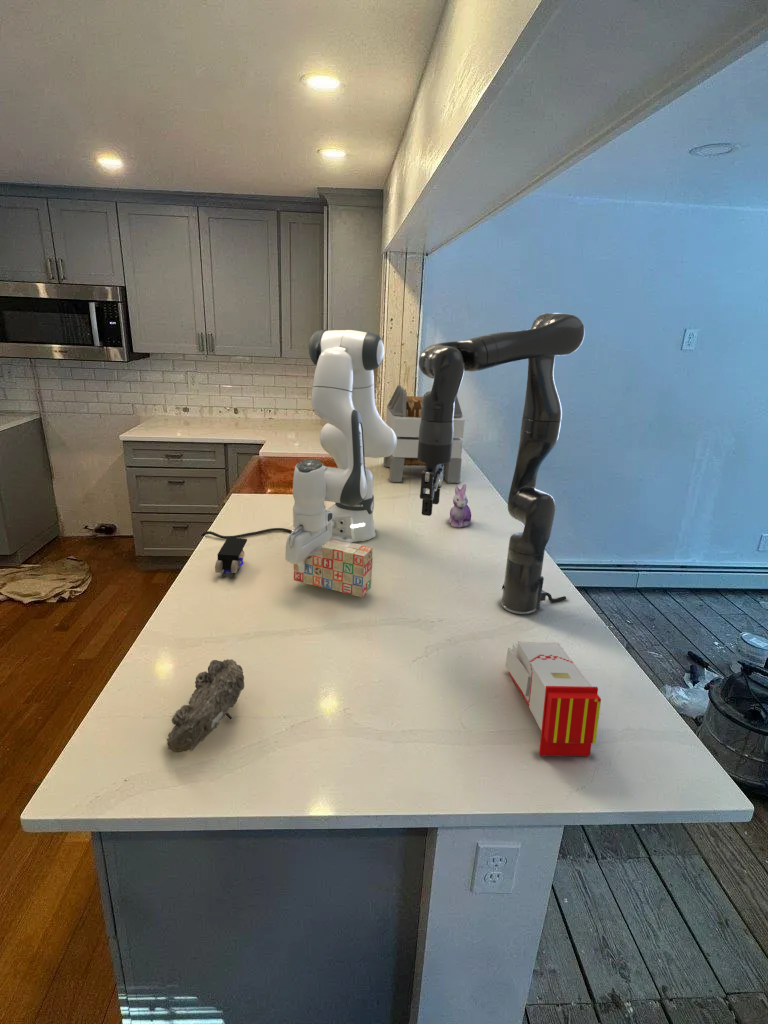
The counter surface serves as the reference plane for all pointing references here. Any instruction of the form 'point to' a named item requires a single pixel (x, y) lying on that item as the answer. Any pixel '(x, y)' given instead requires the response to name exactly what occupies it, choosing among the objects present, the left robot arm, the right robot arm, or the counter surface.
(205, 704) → the fossil
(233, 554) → the black wheeled block
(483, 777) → the counter surface
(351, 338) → the left robot arm
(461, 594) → the counter surface
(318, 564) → the stack of blocks
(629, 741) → the counter surface
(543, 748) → the toy
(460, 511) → the figurine
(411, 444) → the grey storage crate
